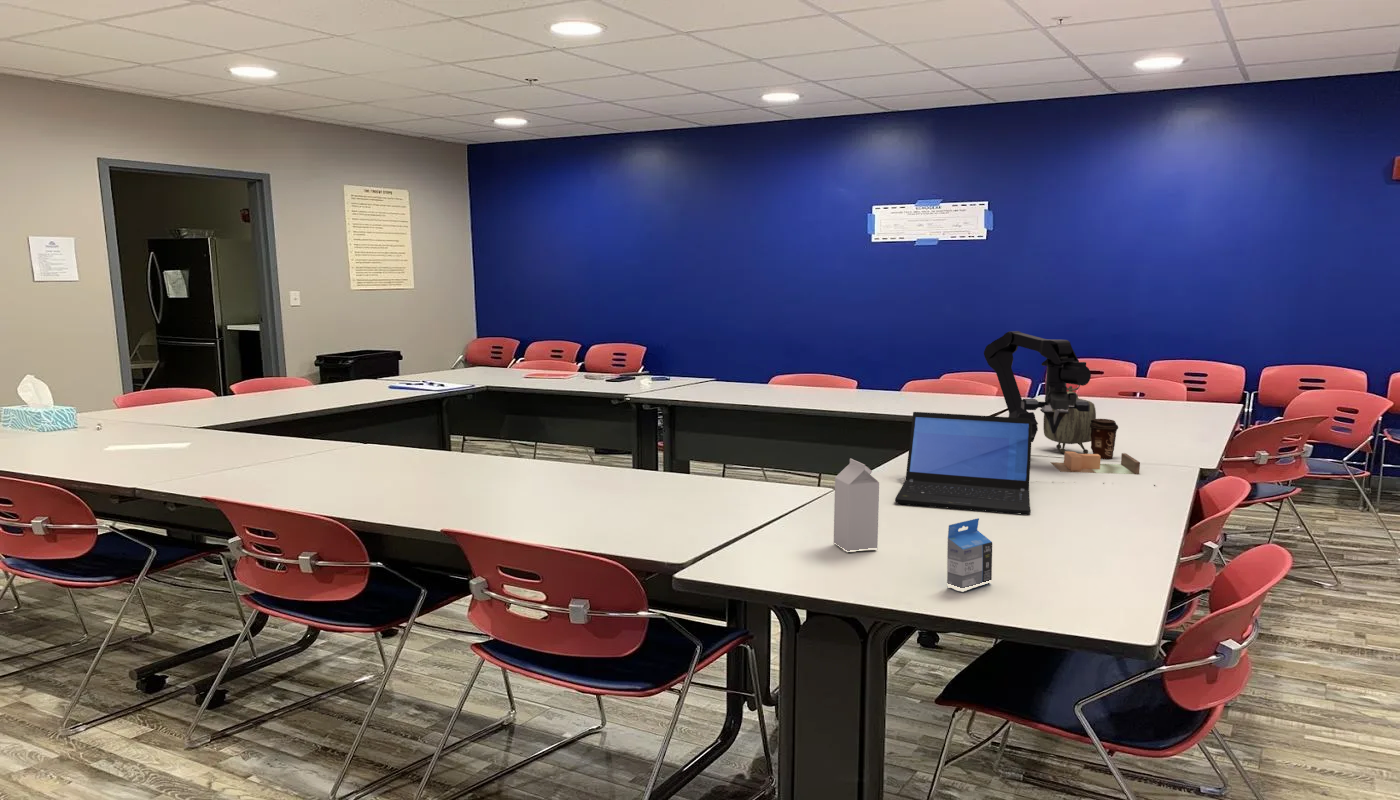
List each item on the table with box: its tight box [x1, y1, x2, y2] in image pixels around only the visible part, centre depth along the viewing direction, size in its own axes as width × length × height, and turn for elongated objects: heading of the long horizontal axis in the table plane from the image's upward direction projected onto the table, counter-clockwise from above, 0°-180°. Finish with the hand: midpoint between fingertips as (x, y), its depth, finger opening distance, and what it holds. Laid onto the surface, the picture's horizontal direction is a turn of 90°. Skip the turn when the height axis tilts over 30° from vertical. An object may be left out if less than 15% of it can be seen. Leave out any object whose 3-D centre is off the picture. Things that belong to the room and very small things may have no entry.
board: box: [1050, 452, 1141, 475], centre depth 283 cm, size 22×14×4 cm, turn 82°
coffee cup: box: [1090, 418, 1119, 460], centre depth 300 cm, size 9×8×13 cm
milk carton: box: [833, 458, 880, 551], centre depth 203 cm, size 7×7×19 cm
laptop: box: [894, 411, 1032, 515], centre depth 253 cm, size 33×38×19 cm
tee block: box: [1063, 450, 1102, 471], centre depth 284 cm, size 9×9×4 cm
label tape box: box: [946, 517, 993, 588], centre depth 179 cm, size 9×4×12 cm, turn 126°
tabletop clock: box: [1043, 385, 1097, 454], centre depth 312 cm, size 14×9×25 cm, turn 30°
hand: (1053, 433), depth 284 cm, fingers closed
